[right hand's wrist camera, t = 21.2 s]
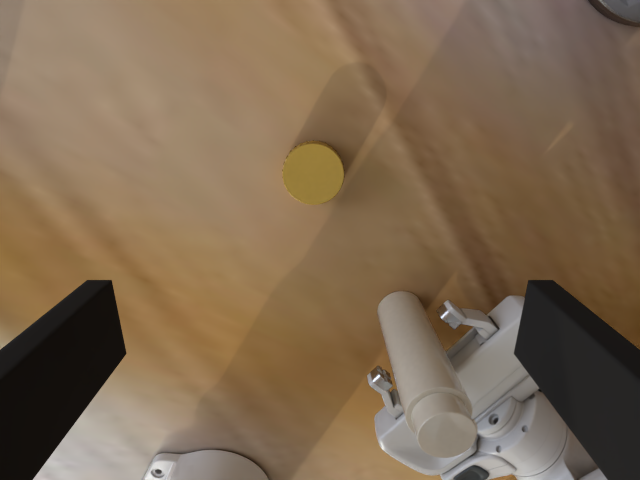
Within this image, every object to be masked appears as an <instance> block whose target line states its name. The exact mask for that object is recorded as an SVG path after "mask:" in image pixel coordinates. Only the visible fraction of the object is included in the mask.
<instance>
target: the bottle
mask: <svg viewBox="0 0 640 480" xmlns="http://www.w3.org/2000/svg"><path fill="white" fill-rule="evenodd" d="M377 315H378V319H379V323H380V327H381V330H382V334H383V338H384V341H385V345H386V349H387V353H388V356H389V360H390V364H391V367H392V371H393V375H394V379H395V382H396V386H397V390H398V393H399V397H400V401H401V404H402V408H403V412H404V416H405V419H406V423H407V425H408V427H409V428H410V430H411V431H412V432H414V433H415V434H416V438H417V441H418V444H419V446H420V448H421V449H422V450H423V451H424V452H425V453H427V454H429V455H431V456H434V457H438V458H449V457H454V456H457V455H460V454H462V453H464V452H465V451H467V450H468V449H469V448H470V447H471V446H472V445H473V443H474V441H475V439H476V437H477V432H478V428H477V427H478V426H477V424H476V422H475V420H474V419H472V404H471V402H470V400H469V398H468V396H467V394H466V392H465V390H464V388H463V386H462V384H461V382H460V379H459V377H458V375H457V373H456V371H455V369H454V367H453V365H452V363H451V361H450V359H449V357H448V355H447V353H446V351H445V349H444V347H443V345H442V343H441V341H440V339H439V337H438V335H437V333H436V331H435V329H434V327H433V325H432V323H431V321H430V319H429V317H428V315H427V313H426V311H425V309H424V307H423V305H422V303H421V301H420V300H419V298H418V297H417V296H415V295H414V294H412V293H410V292H406V291H397V292H393V293H391V294H389V295H387V296H386V297H385V298H383V300H382V301H381V302H380V304H379V306H378V310H377Z"/></svg>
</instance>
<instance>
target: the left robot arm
mask: <svg viewBox="0 0 640 480" xmlns="http://www.w3.org/2000/svg"><path fill="white" fill-rule="evenodd" d="M524 300H525V297H523V296H515V295H510V296H508V297H506V298H505V299H504V300H503V301H502V302H501V303H499V304H498V305H497V306H496V307H495V308H494V309H493V310H492V311H491V312H489V313H488V314H487V315H485V314H484V313H483V312H482V311H481V310H474V309H465V308H460V309H459V308H458V307H457V306H456V305H454V304H453V303H452V302H451V301H450V300H447V301H446V302H445V303H444V304H443V305H442V306H441V307H439V308H438V309H437V310H436V311H437V313H439V316H440V318H441V319H442V320H443V321H444V322H445V323H448V324H449V326H451V327H452V328H453V329H454V330H455V329H456V328H457V327H458V326H459V325H460V324H463V325H469V326H474V327H473V328H472V329H470V330H469V331H468V332H467V333H466V334H465V335H464V336H463V337H462V338H460V339H459V340H458V341H457V342H456V343H455V344H454V345H453V346H452V347H450V348H449V349H448V350H447V351H446V353H447V355H448V357H449V359H450V361H451V363H452V365H453V367H454V369H455V371H456V373H457V375H458V377H459V379H460V382H461V384H462V386H463V388H464V390H465V392H466V394H467V396H468V398H469V400H470V402H471V404H472V419H474V420H475V422H476V424H477V426H478V427H477V428H478V432H477V437H476V439H475V441H474V443H473V445H472V446H471V447H470V448H469V449H468V450H467V451H465V452H464V453H462V454H460V455H457V456H454V457H449V458H438V457H434V456H431V455H429V454H427V453H425V452H424V451H423V450H422V449H421V448H420V446H419V444H418V441H417V438H416V434H415V433H414V432H412V431H411V430H410V428H409V427H408V425H407V423H406V419H405V416H404V412H403V408H402V404H401V401H400V397H399V393H398V391H397V390H395V389H393V390H392V391H391V392H390V391H389V389H390V388H391V387H392V386H393V384H392V381H391V380H390V379H391V376H390V373H388V372H387V371H386V370H382V367H380V366H377V367H376V368H374V369H373V370H372V371H371V372H370V373H369V374H368V375H367V377H368V383H369V385H370V386H371V387H372V388H373V389H375V390H376V391H377V392H379V393H380V394H382V398H383V400H384V403H385V407H383V408H382V409H381V410H380V411H379V412H378V413H377V414H376V415H375V429H376V435H377V439H378V443H379V445H380V447H381V448H382V450H383V451H385V452H386V453H387V454H389V455H390V456H392V457H393V458H395V459H396V460H398V461H399V462H401V463H403V464H405V465H406V466H408V467H410V468H412V469H414V470H416V471H418V472H420V473H423V474H426V475H440V476H441V478H442V480H489V479H492V478H496V477H501V476H506V475H510V474H512V475H514V476H516V478H517V479H518V480H607V478H606V477H605V476H604V474H603V473H602V472H601V470H600V469H599V468H598V466H597V465H596V464H595V462H594V461H593V460H592V458H591V457H590V456H589V454H588V453H587V452H586V450H585V449H584V448H583V446H582V445H581V443H580V442H579V441H578V439H577V438H576V437H575V435H574V434H573V433H572V431H571V430H570V429H569V427H568V426H567V425H566V423H565V422H564V421H563V419H562V418H561V417H560V415H559V414H558V413H557V411H556V410H555V409H554V407H553V406H552V405H551V403H550V402H549V400H548V399H547V398H546V396H545V395H544V394H543V392H542V391H541V390H540V388H539V387H538V386H537V384H536V383H535V382H534V380H533V379H532V378H531V376H530V375H529V374H528V372H527V371H526V370H525V368H524V367H523V366H522V364H521V363H520V362H519V360H518V359H517V358H516V356H515V355H514V349H515V344H516V339H517V334H518V330H519V325H520V320H521V315H522V310H523V305H524ZM142 480H269V479H268V477H267V476H266V474H265V473H264V472H263V470H262V469H261V468H260V467H259V466H257V465H256V464H255V463H253V462H252V461H250V460H249V459H247V458H245V457H243V456H241V455H238V454H235V453H232V452H227V451H222V450H201V451H195V452H191V453H187V454H172V453H161V454H158V455H156V456H155V457H154V459H153V461H152V463H151V465H150V466H149V468H148V470H147V472H146V474H145V476H144V478H143V479H142Z"/></svg>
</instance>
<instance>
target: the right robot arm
mask: <svg viewBox="0 0 640 480" xmlns="http://www.w3.org/2000/svg"><path fill="white" fill-rule="evenodd" d="M588 1H589V2H590V3H591V4H592V5H593V6H594V8H595V9H596V10H598V11H599V12H600V13H601V14H603V15H604V16H606V17H607V18H609V19H611V20H613V21H616V22H618V23H621V24H624V25H629V26H637V27H640V0H588ZM125 355H126V349H125V344H124V339H123V334H122V330H121V325H120V320H119V315H118V310H117V305H116V300H115V295H114V290H113V285H112V280H87V281H86V282H84V283H83V284H82V285H81V286H79V287H78V288H77V289H76V290H74V291H73V292H72V293H71V294H69V295H68V296H67V297H66V298H64V299H63V300H62V301H61V302H59V303H58V304H57V305H56V306H54V307H53V308H52V309H51V310H49V311H48V312H47V313H46V314H44V315H43V316H42V317H41V318H39V319H38V320H37V321H36V322H34V323H33V324H32V325H31V326H30V327H28V328H27V329H26V330H25V331H23V332H22V333H21V334H20V335H18V336H17V337H16V338H15V339H13V340H12V341H11V342H10V343H8V344H7V345H6V346H5V347H3V348H2V349H1V350H0V480H33V478H34V477H35V476H36V474H37V473H38V472H39V470H40V469H41V468H42V466H43V465H44V464H45V462H46V461H47V460H48V458H49V457H50V456H51V454H52V453H53V452H54V450H55V449H56V448H57V446H58V445H59V443H60V442H61V441H62V439H63V438H64V437H65V435H66V434H67V433H68V431H69V430H70V429H71V427H72V426H73V425H74V423H75V422H76V421H77V419H78V418H79V417H80V415H81V414H82V413H83V411H84V410H85V409H86V407H87V406H88V405H89V403H90V402H91V400H92V399H93V398H94V396H95V395H96V394H97V392H98V391H99V390H100V388H101V387H102V386H103V384H104V383H105V382H106V380H107V379H108V378H109V376H110V375H111V374H112V372H113V371H114V370H115V368H116V367H117V366H118V364H119V363H120V362H121V360H122V359H123V358H124V356H125ZM514 355H515V356H516V358H517V359H518V360H519V362H520V363H521V364H522V366H523V367H524V368H525V370H526V371H527V372H528V374H529V375H530V376H531V378H532V379H533V380H534V382H535V383H536V384H537V386H538V387H539V388H540V390H541V391H542V392H543V394H544V395H545V396H546V398H547V399H548V400H549V402H550V403H551V405H552V406H553V407H554V409H555V410H556V411H557V413H558V414H559V415H560V417H561V418H562V419H563V421H564V422H565V423H566V425H567V426H568V427H569V429H570V430H571V431H572V433H573V434H574V435H575V437H576V438H577V439H578V441H579V442H580V443H581V445H582V446H583V448H584V449H585V450H586V452H587V453H588V454H589V456H590V457H591V458H592V460H593V461H594V462H595V464H596V465H597V466H598V468H599V469H600V470H601V472H602V473H603V474H604V476H605V477H606V478H607V480H640V350H639V349H638V348H637V347H635V346H634V345H633V344H632V343H630V342H629V341H628V340H627V339H625V338H624V337H623V336H622V335H620V334H619V333H618V332H617V331H615V330H614V329H613V328H612V327H610V326H609V325H608V324H607V323H606V322H604V321H603V320H602V319H601V318H599V317H598V316H597V315H596V314H594V313H593V312H592V311H591V310H589V309H588V308H587V307H586V306H584V305H583V304H582V303H581V302H579V301H578V300H577V299H576V298H574V297H573V296H572V295H571V294H569V293H568V292H567V291H566V290H564V289H563V288H562V287H561V286H559V285H558V284H557V283H556V282H554V281H553V280H528V285H527V290H526V295H525V300H524V305H523V310H522V315H521V320H520V325H519V330H518V334H517V339H516V344H515V349H514Z"/></svg>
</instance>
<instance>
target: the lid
mask: <svg viewBox="0 0 640 480" xmlns="http://www.w3.org/2000/svg"><path fill="white" fill-rule="evenodd" d="M283 165H284V167H283V170H282V172H283V181H284V184H285V187H286V189H287V190H288V192H289V193H290V194H291V195H292V196H293V197H294V198H295V199H297V200H298V201H300V202H302V203H305V204H311V205H316V204H322V203H325V202H327V201H329V200H330V199H332V198H333V197H334V196H335V195H336V194H337V193H338V192H339V190H340V188H341V186H342V184H343V180H344V168H343V162H342V161H341V158H340V155H338V154H337V151H336V150H334V149H333V148H332V146H329V145H327V144H326V143H322V142H320V141H314V140H313V141H309V142H308V141H306V142H304V143H300V145H298V146H297V147H296V146H295V148H294V149H293V150H292V151H290V153H289V155H287V157H286V161H285V162H284V164H283Z"/></svg>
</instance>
